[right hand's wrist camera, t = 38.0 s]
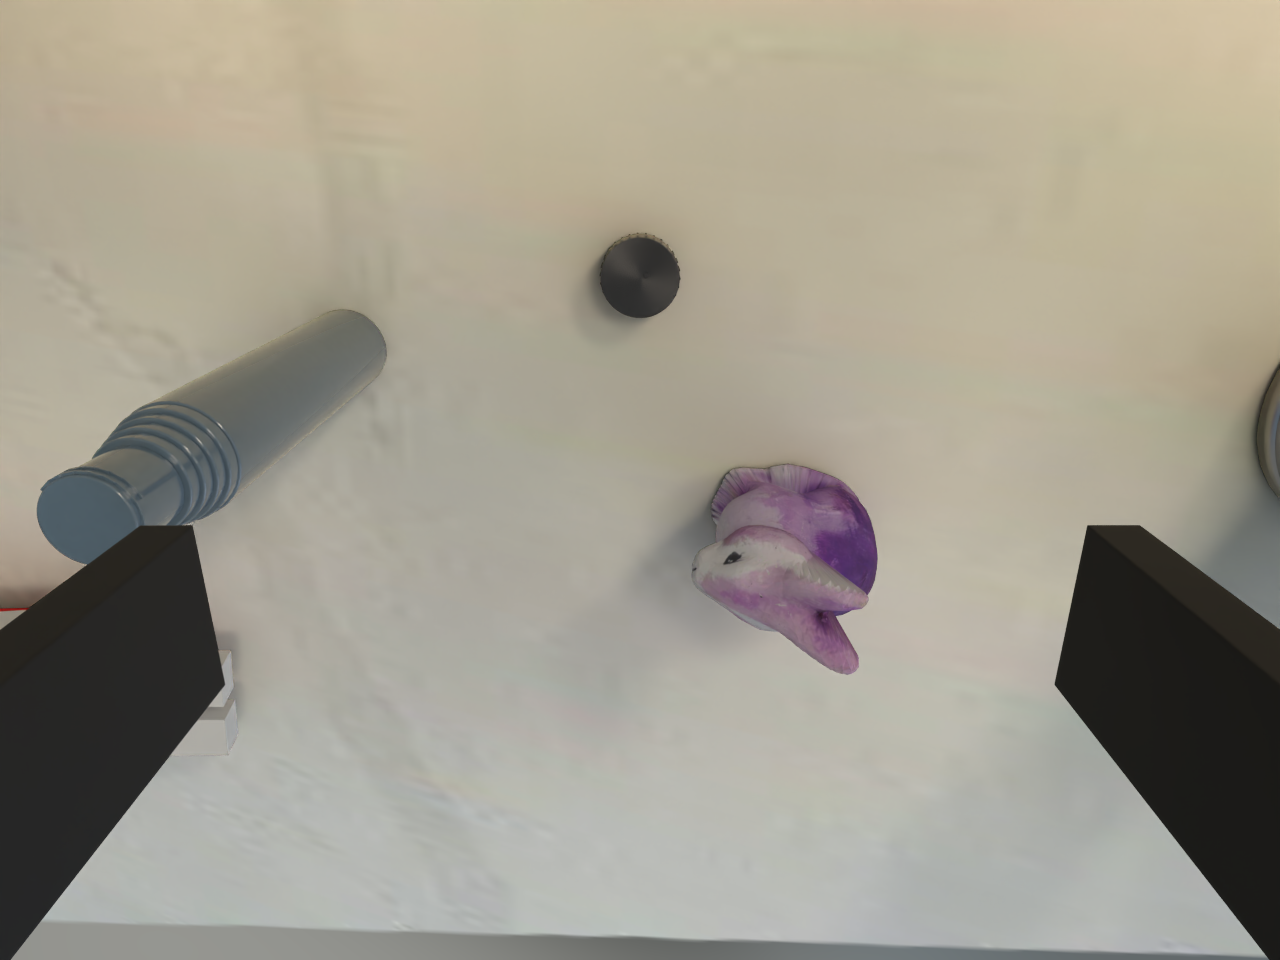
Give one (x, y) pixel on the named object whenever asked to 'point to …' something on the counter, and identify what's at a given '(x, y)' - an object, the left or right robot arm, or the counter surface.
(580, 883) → the counter surface
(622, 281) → the cap
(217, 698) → the toy
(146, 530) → the right robot arm
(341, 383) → the bottle
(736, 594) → the figurine
